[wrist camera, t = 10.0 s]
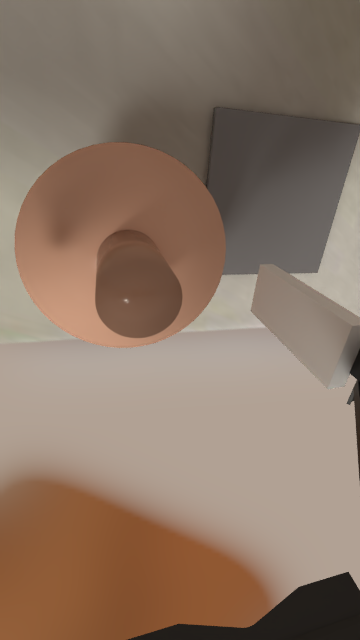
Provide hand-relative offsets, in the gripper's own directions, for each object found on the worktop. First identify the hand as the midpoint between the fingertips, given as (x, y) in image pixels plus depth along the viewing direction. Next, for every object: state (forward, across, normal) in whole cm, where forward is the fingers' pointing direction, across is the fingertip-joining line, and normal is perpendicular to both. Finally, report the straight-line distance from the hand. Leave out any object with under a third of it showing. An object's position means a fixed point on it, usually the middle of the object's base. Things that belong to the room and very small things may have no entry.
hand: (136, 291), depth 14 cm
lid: (+6, 0, 0) cm, 6 cm away
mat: (+16, +16, +3) cm, 23 cm away
